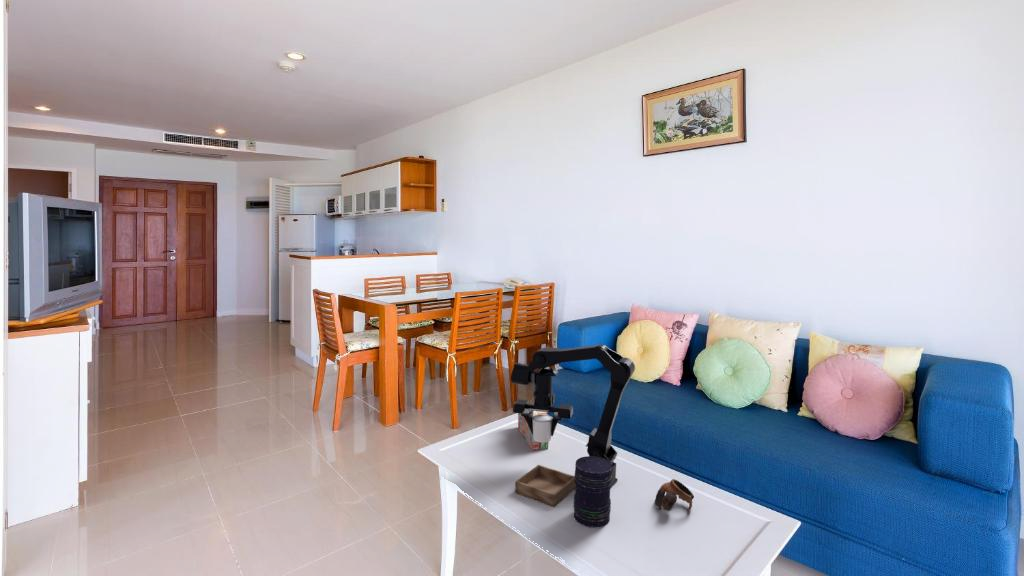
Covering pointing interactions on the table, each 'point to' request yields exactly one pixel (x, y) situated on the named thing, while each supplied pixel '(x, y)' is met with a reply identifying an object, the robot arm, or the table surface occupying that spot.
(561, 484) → the walnut crate
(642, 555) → the table surface
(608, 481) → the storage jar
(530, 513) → the table surface
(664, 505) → the brown hollow curved piece
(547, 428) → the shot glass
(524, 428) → the stack of blocks
